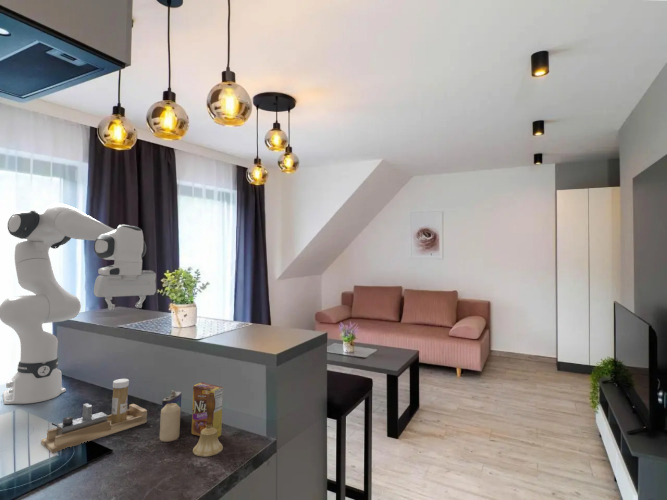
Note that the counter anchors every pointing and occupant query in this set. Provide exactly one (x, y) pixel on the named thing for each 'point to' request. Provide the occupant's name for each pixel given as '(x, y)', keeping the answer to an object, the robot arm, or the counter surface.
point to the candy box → (199, 407)
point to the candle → (170, 422)
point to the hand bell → (208, 433)
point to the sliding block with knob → (81, 421)
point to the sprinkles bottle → (119, 400)
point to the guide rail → (94, 430)
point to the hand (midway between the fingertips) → (125, 308)
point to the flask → (173, 399)
